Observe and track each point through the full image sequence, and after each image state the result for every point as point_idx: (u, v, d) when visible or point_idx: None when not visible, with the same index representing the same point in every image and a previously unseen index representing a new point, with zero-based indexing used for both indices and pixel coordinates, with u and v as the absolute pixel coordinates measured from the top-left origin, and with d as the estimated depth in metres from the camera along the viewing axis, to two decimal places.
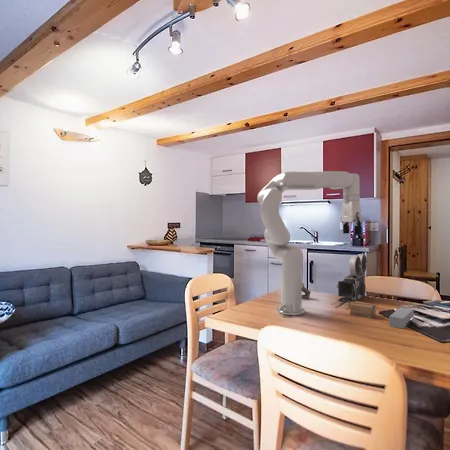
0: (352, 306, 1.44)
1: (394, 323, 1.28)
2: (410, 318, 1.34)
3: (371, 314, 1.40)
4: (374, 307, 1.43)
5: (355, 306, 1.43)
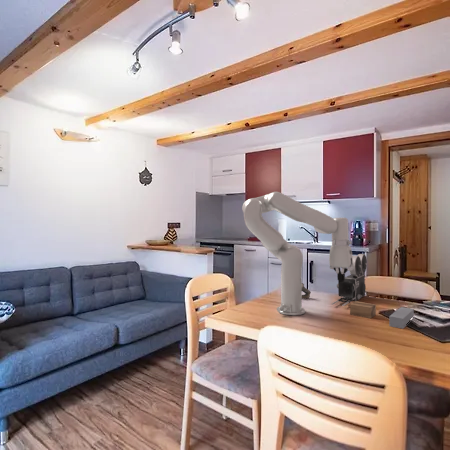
0: (352, 306, 1.44)
1: (394, 323, 1.28)
2: (410, 318, 1.34)
3: (371, 314, 1.40)
4: (374, 307, 1.43)
5: (355, 306, 1.43)
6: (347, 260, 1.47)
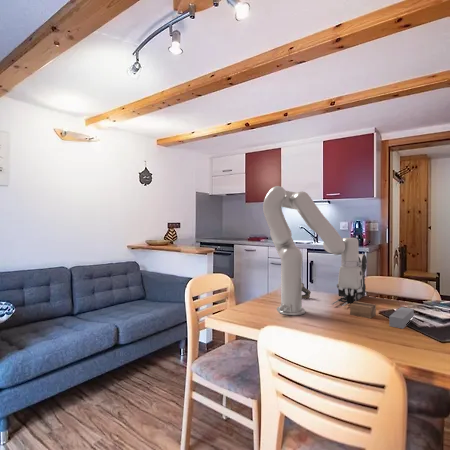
0: (352, 306, 1.44)
1: (394, 323, 1.28)
2: (410, 318, 1.34)
3: (371, 314, 1.40)
4: (374, 307, 1.43)
5: (355, 306, 1.43)
6: (357, 282, 1.44)
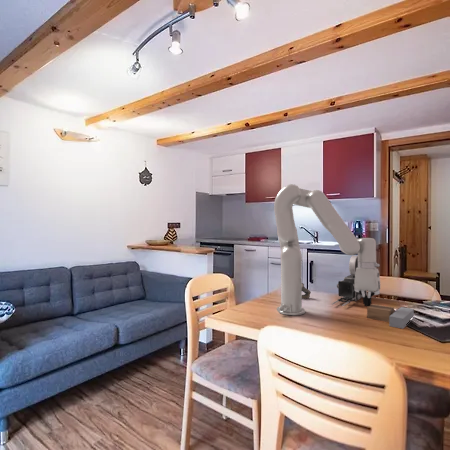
0: (369, 309, 1.39)
1: (394, 323, 1.28)
2: (410, 318, 1.34)
3: None
4: (392, 310, 1.38)
5: (373, 309, 1.38)
6: (375, 284, 1.39)
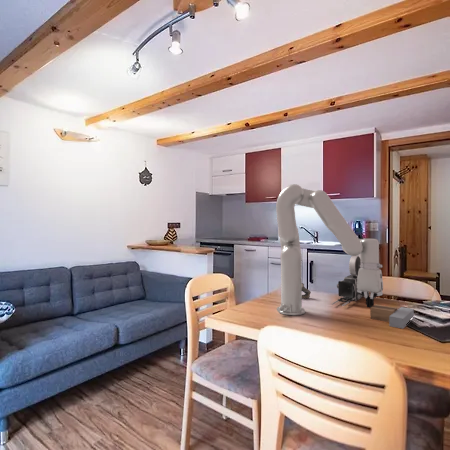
0: (373, 310, 1.38)
1: (394, 323, 1.28)
2: (410, 318, 1.34)
3: None
4: None
5: (376, 310, 1.37)
6: (377, 285, 1.38)
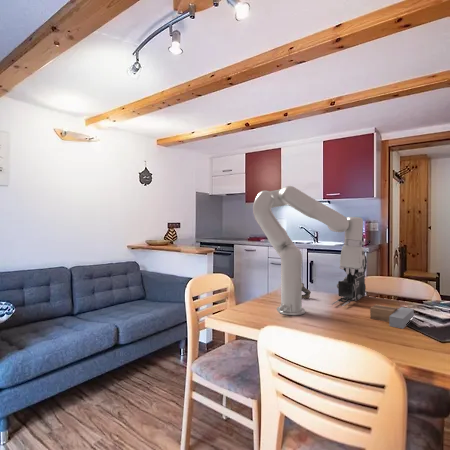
0: (372, 310, 1.38)
1: (394, 323, 1.28)
2: (410, 318, 1.34)
3: None
4: None
5: (376, 310, 1.37)
6: (359, 261, 1.43)
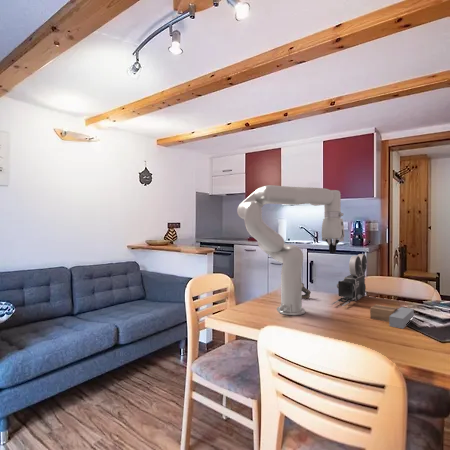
0: (372, 310, 1.38)
1: (394, 323, 1.28)
2: (410, 318, 1.34)
3: None
4: None
5: (376, 310, 1.37)
6: (338, 231, 1.51)
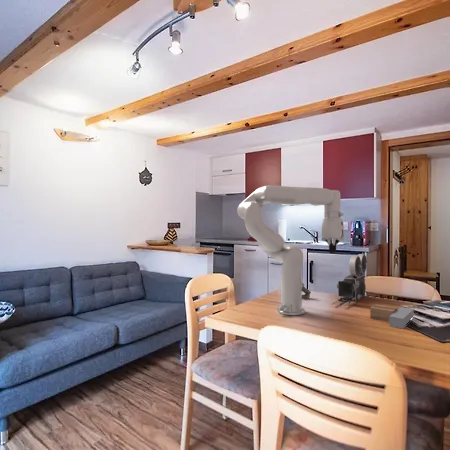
0: (373, 310, 1.38)
1: (394, 323, 1.28)
2: (410, 318, 1.34)
3: None
4: None
5: (376, 310, 1.37)
6: (338, 231, 1.51)
